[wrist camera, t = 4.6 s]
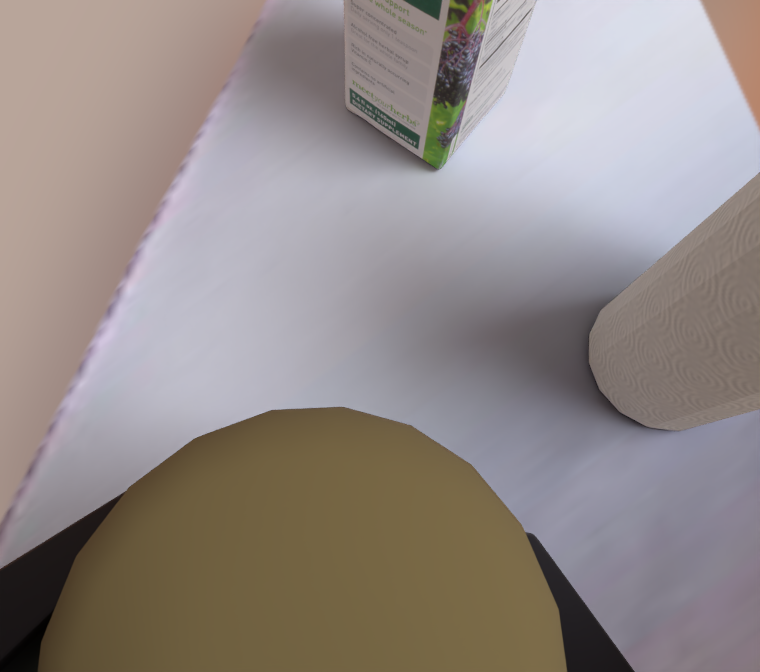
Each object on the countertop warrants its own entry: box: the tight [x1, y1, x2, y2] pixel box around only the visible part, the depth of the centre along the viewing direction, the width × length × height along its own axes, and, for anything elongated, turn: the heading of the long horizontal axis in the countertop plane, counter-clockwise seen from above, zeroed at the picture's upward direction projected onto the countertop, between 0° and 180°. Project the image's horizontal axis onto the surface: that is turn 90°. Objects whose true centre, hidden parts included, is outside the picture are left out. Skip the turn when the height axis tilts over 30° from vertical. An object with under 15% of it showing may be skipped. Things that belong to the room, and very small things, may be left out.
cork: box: [38, 407, 567, 672], centre depth 10 cm, size 6×6×11 cm
